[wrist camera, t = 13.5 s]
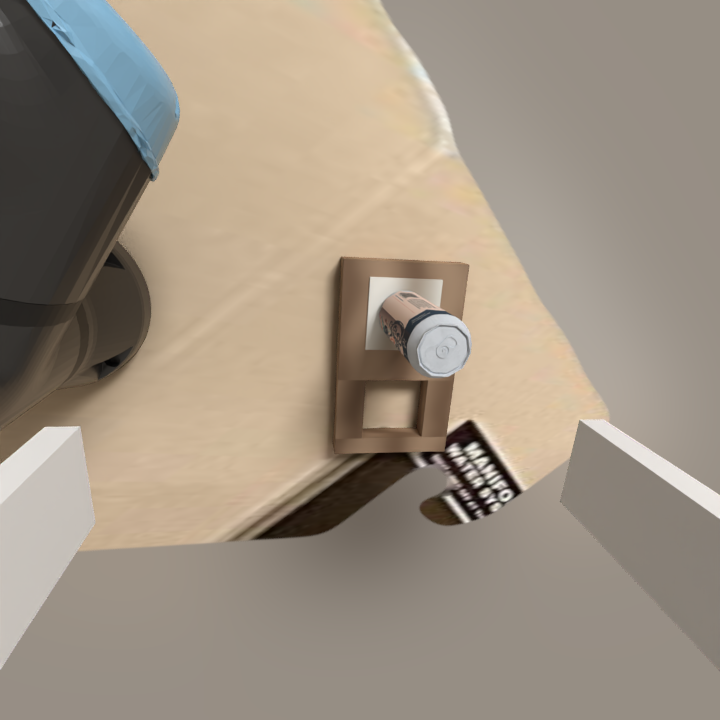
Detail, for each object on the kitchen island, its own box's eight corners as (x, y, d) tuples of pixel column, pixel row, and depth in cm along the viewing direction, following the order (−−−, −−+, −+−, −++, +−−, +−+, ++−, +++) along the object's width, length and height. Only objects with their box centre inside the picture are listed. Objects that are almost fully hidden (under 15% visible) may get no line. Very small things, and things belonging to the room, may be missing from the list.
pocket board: (333, 443, 47) (335, 454, 45) (341, 256, 41) (344, 258, 38) (437, 441, 49) (444, 452, 47) (460, 262, 43) (470, 265, 40)
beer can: (367, 317, 40) (396, 355, 29) (401, 278, 40) (444, 302, 29) (402, 348, 42) (443, 395, 31) (436, 311, 41) (490, 346, 30)
